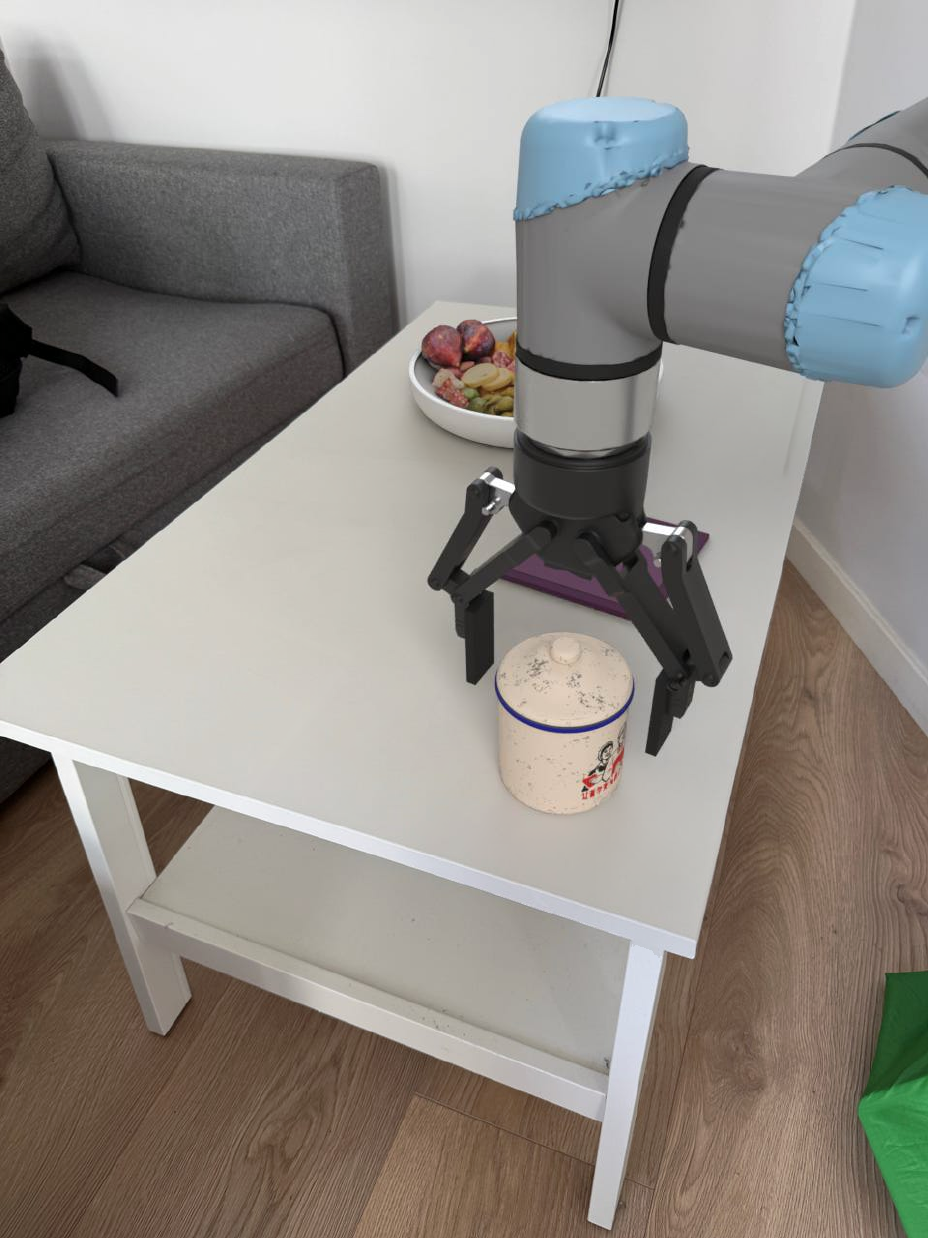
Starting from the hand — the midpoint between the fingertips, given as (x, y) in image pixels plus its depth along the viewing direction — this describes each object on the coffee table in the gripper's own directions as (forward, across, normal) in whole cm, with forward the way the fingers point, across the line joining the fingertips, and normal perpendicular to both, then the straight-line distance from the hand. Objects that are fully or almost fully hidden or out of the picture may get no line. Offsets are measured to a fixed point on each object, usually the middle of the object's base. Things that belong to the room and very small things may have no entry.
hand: (565, 706), depth 63 cm
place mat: (+5, +8, -24) cm, 26 cm away
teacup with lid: (+5, 0, 0) cm, 5 cm away
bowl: (+5, +29, -50) cm, 58 cm away
